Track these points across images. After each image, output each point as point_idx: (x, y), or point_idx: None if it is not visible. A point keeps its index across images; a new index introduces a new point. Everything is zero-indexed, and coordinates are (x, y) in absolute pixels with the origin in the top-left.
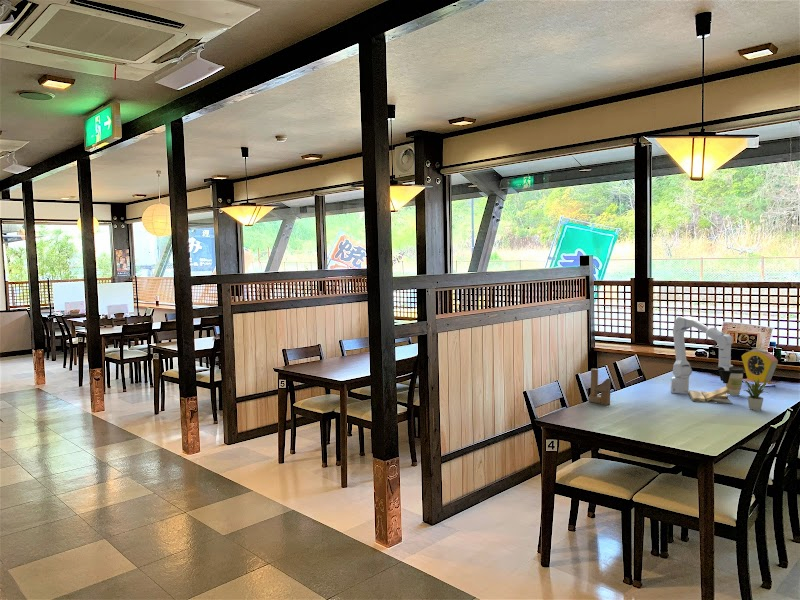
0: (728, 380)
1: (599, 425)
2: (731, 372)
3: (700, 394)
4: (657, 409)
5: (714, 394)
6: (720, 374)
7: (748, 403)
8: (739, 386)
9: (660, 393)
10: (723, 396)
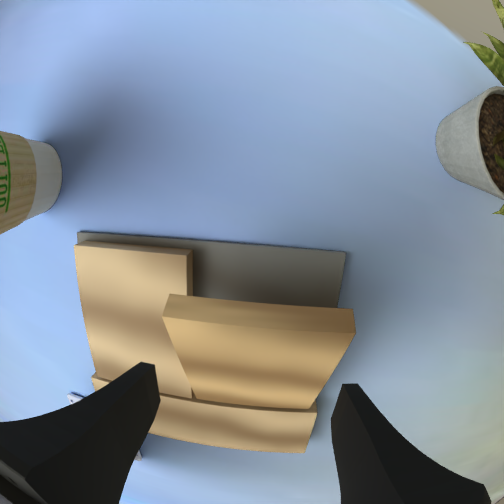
0: (375, 407)
1: (494, 497)
2: (483, 487)
3: (189, 410)
4: None
5: (298, 388)
6: (130, 463)
7: (479, 188)
8: (15, 145)
9: (169, 484)
10: (187, 286)
